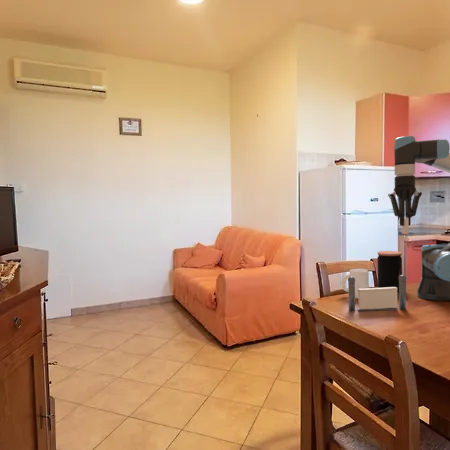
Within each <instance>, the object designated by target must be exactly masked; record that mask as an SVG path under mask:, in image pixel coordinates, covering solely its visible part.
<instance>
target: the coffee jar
mask: <svg viewBox="0 0 450 450" xmlns="http://www.w3.org/2000/svg"><path fill="white" fill-rule="evenodd" d="M402 254H403V253H402V252H401V251H397V250H379V251H377V255H378V256H377V288H384V287H396V288H397V291H398V292H399V279H398V278H399V276H400V275H403V258H402Z"/></svg>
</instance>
